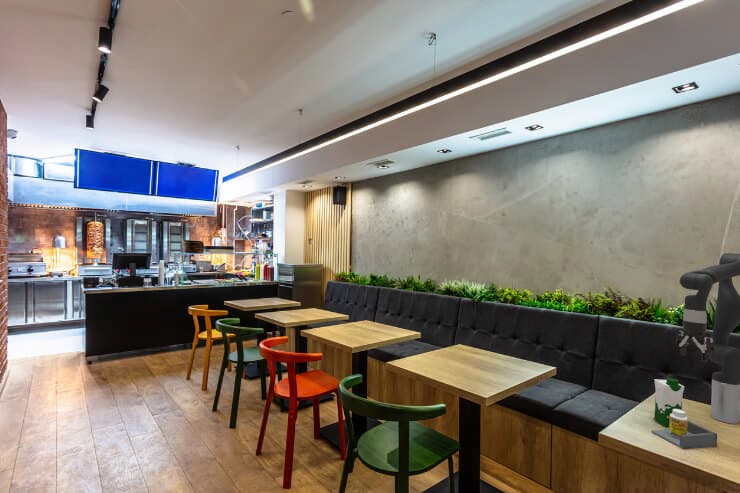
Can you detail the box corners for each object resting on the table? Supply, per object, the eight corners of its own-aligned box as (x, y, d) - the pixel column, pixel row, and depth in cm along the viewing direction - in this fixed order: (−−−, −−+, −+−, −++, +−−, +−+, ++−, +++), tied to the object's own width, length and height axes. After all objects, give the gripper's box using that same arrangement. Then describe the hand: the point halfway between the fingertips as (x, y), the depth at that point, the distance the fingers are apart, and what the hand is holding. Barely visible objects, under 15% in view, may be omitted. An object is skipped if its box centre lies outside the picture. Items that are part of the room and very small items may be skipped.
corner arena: (683, 429, 159) (683, 418, 159) (716, 446, 147) (717, 433, 147) (651, 432, 156) (651, 420, 156) (682, 449, 144) (683, 436, 144)
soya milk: (663, 427, 161) (665, 380, 161) (650, 418, 170) (651, 373, 170) (685, 429, 160) (687, 382, 160) (671, 419, 169) (672, 375, 169)
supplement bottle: (668, 436, 152) (669, 410, 152) (669, 431, 156) (670, 406, 156) (686, 441, 148) (687, 415, 148) (686, 436, 152) (687, 410, 152)
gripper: (671, 317, 166) (669, 354, 166) (705, 324, 152) (704, 364, 152) (685, 317, 168) (683, 353, 168) (720, 323, 154) (719, 363, 154)
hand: (693, 358), depth 160 cm, fingers open, 8 cm apart
